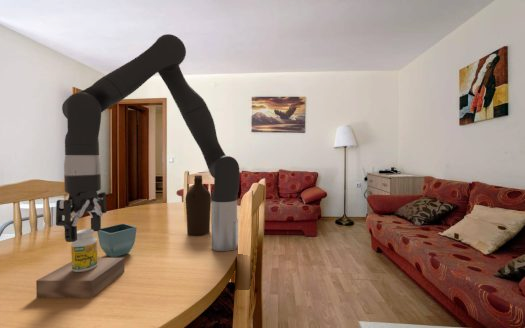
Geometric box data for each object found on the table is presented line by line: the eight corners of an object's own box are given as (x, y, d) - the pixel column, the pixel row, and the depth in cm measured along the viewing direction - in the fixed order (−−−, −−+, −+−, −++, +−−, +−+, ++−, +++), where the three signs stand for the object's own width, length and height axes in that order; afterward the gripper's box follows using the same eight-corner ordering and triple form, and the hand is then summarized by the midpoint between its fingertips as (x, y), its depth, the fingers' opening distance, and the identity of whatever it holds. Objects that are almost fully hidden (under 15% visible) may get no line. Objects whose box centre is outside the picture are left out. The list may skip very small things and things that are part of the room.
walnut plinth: (124, 271, 69) (124, 257, 69) (92, 297, 56) (92, 280, 56) (79, 271, 69) (78, 257, 69) (36, 297, 56) (36, 280, 56)
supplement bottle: (97, 261, 67) (97, 227, 66) (97, 269, 62) (96, 232, 62) (72, 266, 64) (72, 230, 63) (70, 274, 59) (70, 235, 59)
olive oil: (213, 234, 103) (213, 175, 102) (187, 238, 99) (186, 176, 98) (208, 228, 113) (208, 174, 112) (184, 230, 108) (184, 175, 108)
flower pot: (110, 262, 76) (110, 233, 76) (96, 256, 81) (96, 229, 80) (137, 252, 83) (137, 226, 83) (123, 247, 88) (123, 223, 88)
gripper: (76, 175, 55) (78, 245, 56) (114, 171, 69) (115, 227, 70) (43, 175, 55) (45, 246, 56) (88, 171, 69) (89, 228, 70)
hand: (84, 235), depth 63 cm, fingers open, 8 cm apart
